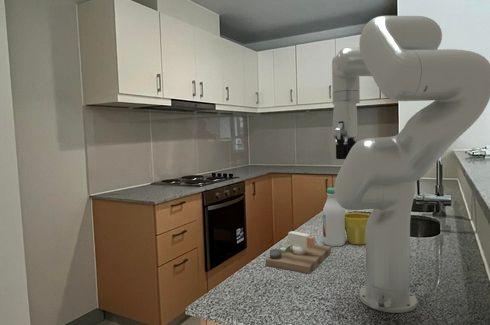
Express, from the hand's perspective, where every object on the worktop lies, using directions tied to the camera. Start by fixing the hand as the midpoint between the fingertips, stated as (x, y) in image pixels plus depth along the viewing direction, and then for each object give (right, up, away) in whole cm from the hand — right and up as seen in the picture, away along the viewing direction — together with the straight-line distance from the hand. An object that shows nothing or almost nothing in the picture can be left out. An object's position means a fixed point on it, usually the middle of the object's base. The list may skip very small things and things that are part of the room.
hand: (346, 157), depth 103 cm
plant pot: (+11, -30, +25) cm, 41 cm away
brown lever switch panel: (-12, -32, +9) cm, 36 cm away
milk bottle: (+2, -31, +24) cm, 39 cm away
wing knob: (-12, -30, +9) cm, 34 cm away
